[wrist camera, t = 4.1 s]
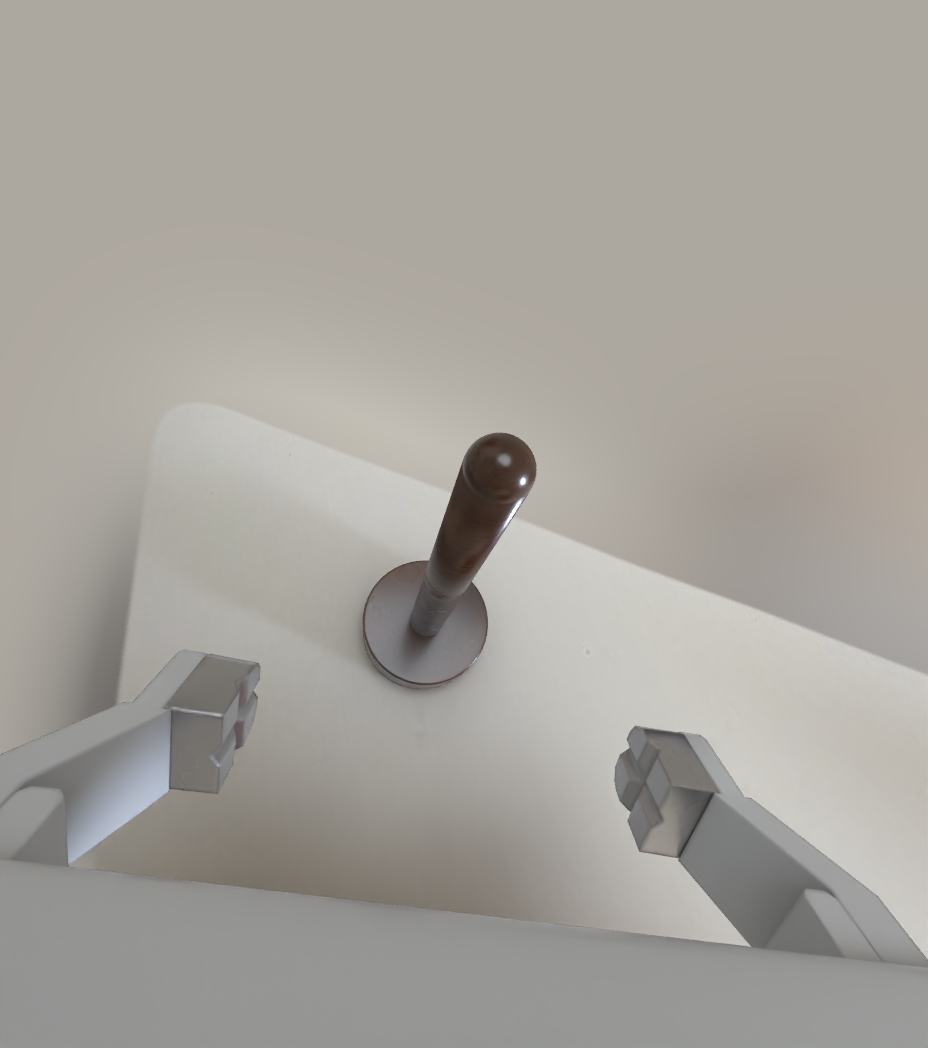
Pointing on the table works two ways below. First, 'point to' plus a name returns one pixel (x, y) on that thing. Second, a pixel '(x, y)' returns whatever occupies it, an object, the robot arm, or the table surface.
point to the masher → (449, 573)
